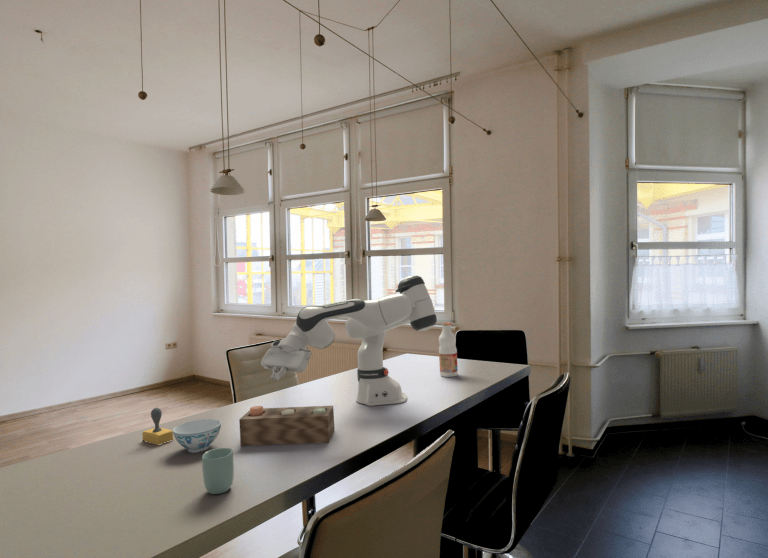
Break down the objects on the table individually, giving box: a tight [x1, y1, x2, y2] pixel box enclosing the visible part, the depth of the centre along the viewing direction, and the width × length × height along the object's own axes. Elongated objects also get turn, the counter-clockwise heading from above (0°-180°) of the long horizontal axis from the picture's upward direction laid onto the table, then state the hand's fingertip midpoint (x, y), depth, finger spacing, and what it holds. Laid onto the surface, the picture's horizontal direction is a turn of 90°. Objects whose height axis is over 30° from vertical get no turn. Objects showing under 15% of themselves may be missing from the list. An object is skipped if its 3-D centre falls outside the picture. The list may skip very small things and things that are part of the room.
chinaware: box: [172, 418, 222, 453], centre depth 152 cm, size 15×15×8 cm
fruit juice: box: [438, 321, 459, 378], centre depth 241 cm, size 9×9×28 cm
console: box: [239, 405, 335, 447], centre depth 158 cm, size 30×12×9 cm, turn 87°
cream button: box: [281, 409, 294, 415], centre depth 158 cm, size 4×4×3 cm
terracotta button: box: [249, 405, 264, 416], centre depth 158 cm, size 4×4×3 cm
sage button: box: [313, 408, 326, 413], centre depth 157 cm, size 4×4×3 cm
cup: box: [201, 447, 235, 495], centre depth 120 cm, size 8×8×10 cm
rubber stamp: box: [142, 407, 174, 446], centre depth 162 cm, size 10×6×12 cm, turn 57°
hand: (274, 379), depth 165 cm, fingers closed
